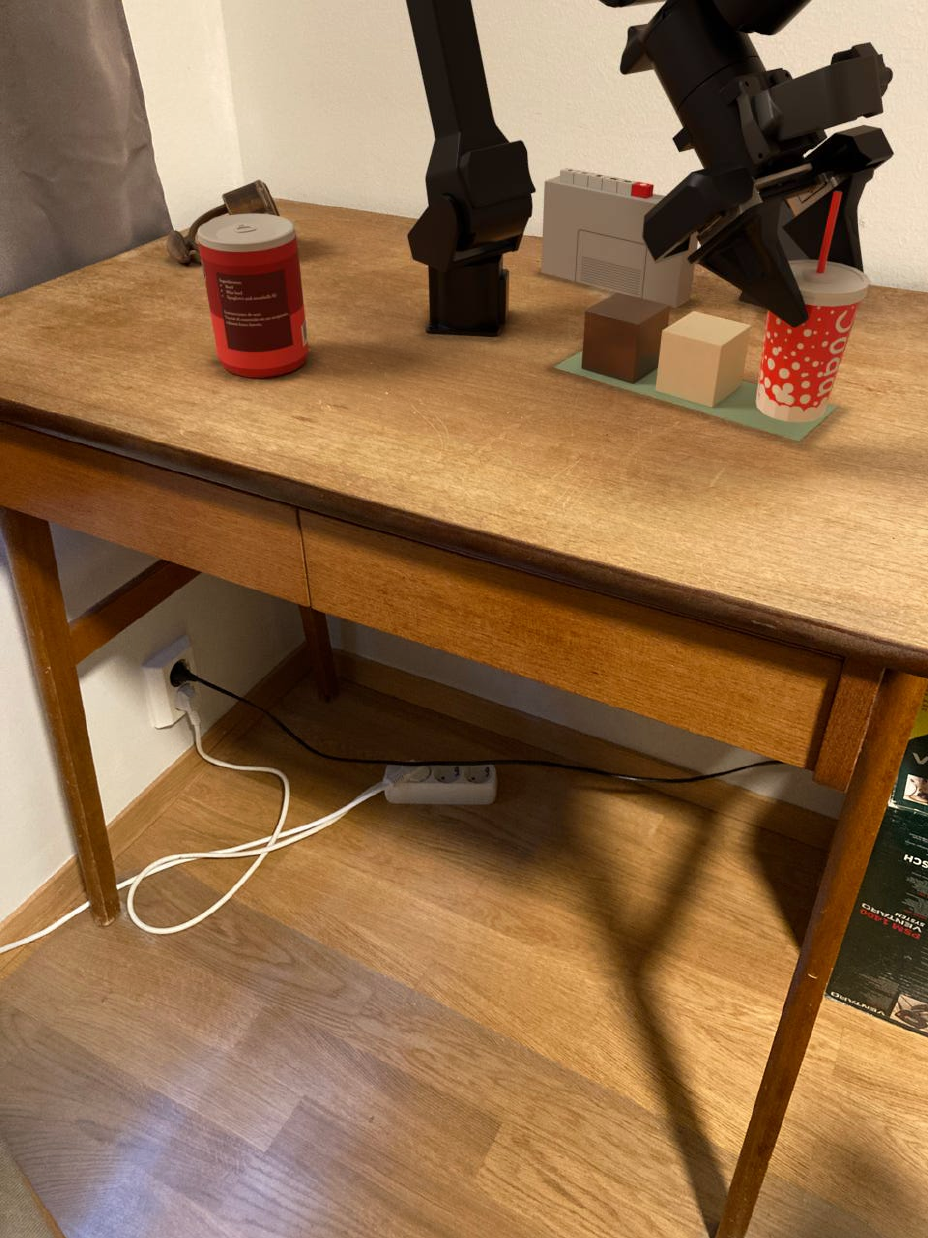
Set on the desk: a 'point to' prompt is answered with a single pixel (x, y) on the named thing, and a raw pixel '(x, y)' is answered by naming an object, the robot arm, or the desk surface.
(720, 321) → the cream block
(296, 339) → the canned food
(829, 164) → the robot arm
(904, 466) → the desk surface
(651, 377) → the line mat
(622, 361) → the walnut block
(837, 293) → the beverage cup
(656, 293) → the cassette player
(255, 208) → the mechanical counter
